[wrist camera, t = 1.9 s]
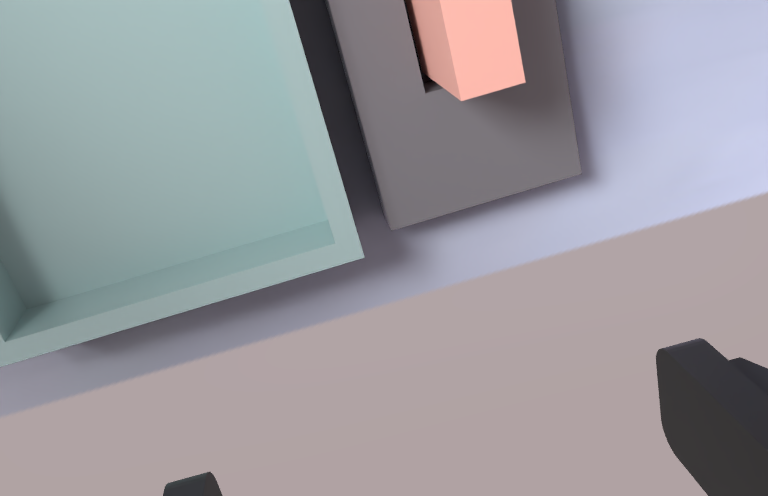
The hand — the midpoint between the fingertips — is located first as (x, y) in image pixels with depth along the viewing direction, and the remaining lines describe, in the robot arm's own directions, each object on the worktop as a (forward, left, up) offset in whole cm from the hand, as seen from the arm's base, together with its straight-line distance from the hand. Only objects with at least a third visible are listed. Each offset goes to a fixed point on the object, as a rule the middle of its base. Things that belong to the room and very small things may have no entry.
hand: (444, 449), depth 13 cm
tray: (-5, -8, -22) cm, 24 cm away
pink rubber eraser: (-5, +6, -22) cm, 23 cm away
